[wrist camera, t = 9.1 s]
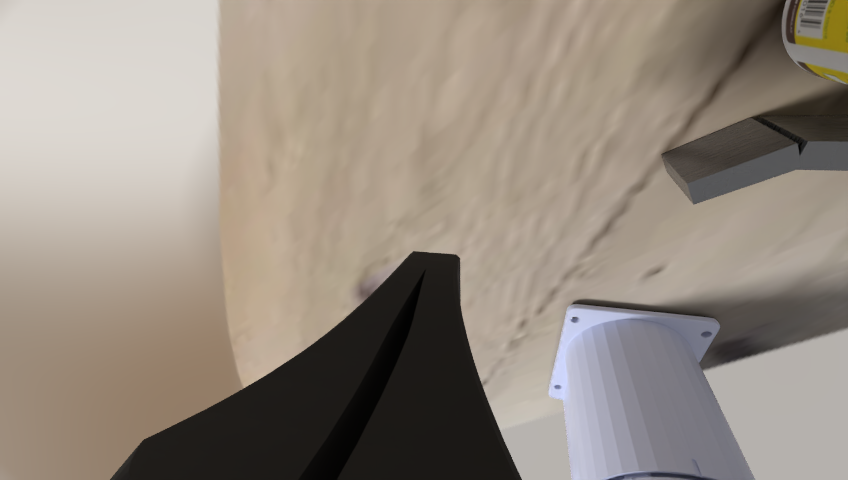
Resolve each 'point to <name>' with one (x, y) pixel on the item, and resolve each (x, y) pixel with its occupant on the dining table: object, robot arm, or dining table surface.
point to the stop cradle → (757, 153)
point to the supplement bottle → (818, 36)
